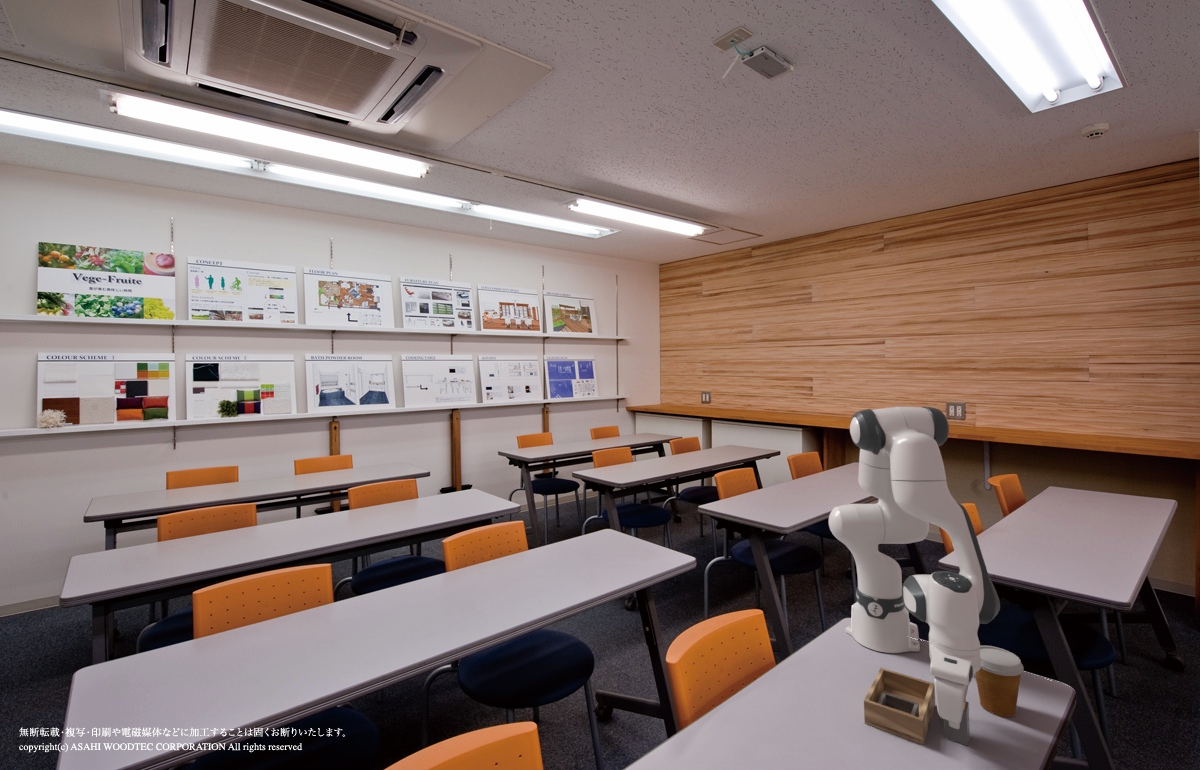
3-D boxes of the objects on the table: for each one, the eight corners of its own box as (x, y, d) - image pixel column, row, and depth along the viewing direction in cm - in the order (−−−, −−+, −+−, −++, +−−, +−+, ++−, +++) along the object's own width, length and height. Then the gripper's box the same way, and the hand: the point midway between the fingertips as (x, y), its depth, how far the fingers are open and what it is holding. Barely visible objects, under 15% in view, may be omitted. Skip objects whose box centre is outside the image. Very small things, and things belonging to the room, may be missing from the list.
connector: (946, 727, 110) (945, 690, 110) (969, 735, 108) (968, 697, 107) (944, 737, 107) (942, 699, 107) (967, 746, 104) (966, 707, 104)
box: (881, 687, 125) (880, 667, 124) (935, 705, 117) (934, 683, 117) (864, 723, 112) (863, 700, 112) (923, 745, 105) (922, 720, 105)
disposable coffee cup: (1009, 697, 119) (1007, 645, 119) (1035, 724, 110) (1033, 668, 110) (963, 693, 121) (961, 643, 121) (984, 720, 112) (983, 665, 112)
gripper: (943, 629, 117) (945, 689, 117) (928, 670, 101) (930, 739, 102) (977, 637, 113) (979, 699, 113) (967, 681, 97) (969, 754, 98)
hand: (956, 719), depth 107 cm, fingers closed on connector, 4 cm apart
